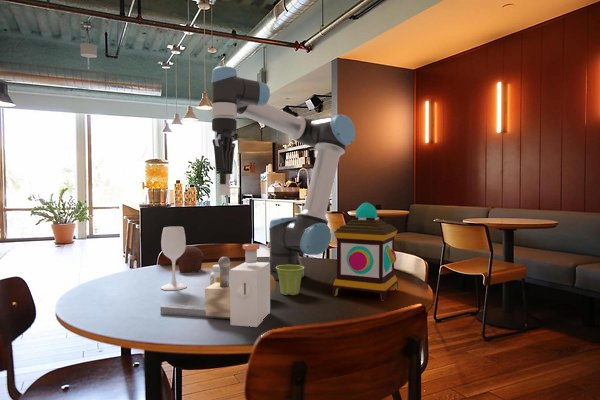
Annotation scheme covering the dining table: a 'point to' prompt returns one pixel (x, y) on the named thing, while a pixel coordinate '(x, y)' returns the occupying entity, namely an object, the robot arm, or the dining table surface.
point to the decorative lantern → (366, 253)
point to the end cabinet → (249, 293)
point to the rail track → (186, 311)
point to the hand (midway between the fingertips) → (224, 195)
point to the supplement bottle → (215, 274)
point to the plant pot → (289, 278)
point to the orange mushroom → (251, 252)
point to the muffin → (190, 260)
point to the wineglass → (173, 251)
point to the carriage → (219, 292)
